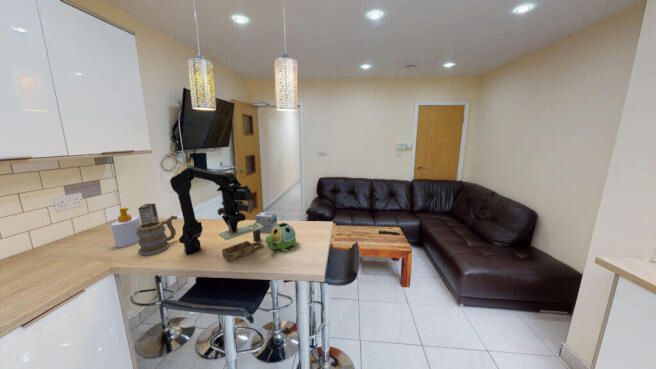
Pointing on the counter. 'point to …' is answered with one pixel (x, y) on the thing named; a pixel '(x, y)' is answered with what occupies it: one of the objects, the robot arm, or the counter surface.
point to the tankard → (154, 236)
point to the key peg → (256, 235)
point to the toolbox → (240, 250)
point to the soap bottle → (125, 229)
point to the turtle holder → (281, 237)
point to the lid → (240, 231)
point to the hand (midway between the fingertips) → (233, 231)
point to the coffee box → (148, 213)
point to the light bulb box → (267, 221)
